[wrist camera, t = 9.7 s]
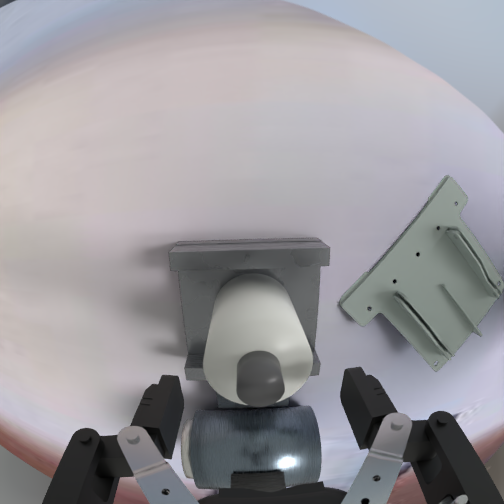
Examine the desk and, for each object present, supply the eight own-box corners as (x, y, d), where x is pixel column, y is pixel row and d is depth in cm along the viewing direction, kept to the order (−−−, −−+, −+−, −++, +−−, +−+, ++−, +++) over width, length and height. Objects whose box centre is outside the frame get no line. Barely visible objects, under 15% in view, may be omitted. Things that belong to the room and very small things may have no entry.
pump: (292, 271, 20) (327, 335, 11) (289, 340, 21) (314, 423, 12) (211, 274, 19) (191, 341, 11) (216, 343, 21) (206, 428, 12)
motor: (317, 237, 20) (382, 286, 10) (299, 438, 25) (316, 513, 16) (165, 242, 20) (103, 295, 10) (198, 442, 25) (189, 518, 15)
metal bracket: (527, 277, 16) (431, 401, 18) (496, 271, 22) (412, 374, 24) (448, 159, 18) (330, 298, 20) (422, 174, 23) (324, 286, 26)
